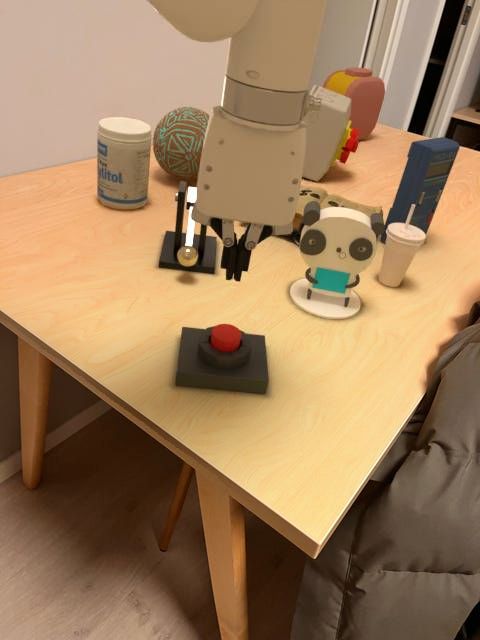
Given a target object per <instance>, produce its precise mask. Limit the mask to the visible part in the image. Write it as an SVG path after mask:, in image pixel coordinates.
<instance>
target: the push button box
mask: <svg viewBox="0 0 480 640" xmlns="http://www.w3.org/2000/svg"><path fill="white" fill-rule="evenodd" d="M215 326H216V325H214V326H209V327H206V328H198V327H191V326H190V327H189V326H182V328H181V334H180V342H179V347H178V348H179V349H178V355H177V356H178V357H177V363H176V364H177V365H176V371H175V372H176V373H175V383H174V385H175V386H176V387H177V386H178V387H180V386H181V387H189V388H199V389H210V390H220V391H229V392H241V393H250V394H251V393H252V394H261V395H266V394H267V390H268V386H269V382H270V381H269V380H270V379H269V369H268V357H267V345H266V344H267V343H266V335H265V334H255V333H246V332H244V331H243V330H241V329H239V330H240V331H241V340H240V345H239V348H238V349H237V350H236V351H233V352H221V351H219V350H217V349H215V348H213V347H212V345H211V335H212V329H213V328H214V327H215Z"/></svg>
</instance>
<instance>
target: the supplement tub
mask: <svg viewBox="0 0 480 640" xmlns="http://www.w3.org/2000/svg"><path fill="white" fill-rule="evenodd" d="M96 143H97V145H96V147H97V148H96V149H97V150H96V151H97V154H96V155H97V158H96V160H97V161H96V162H97V163H96V164H97V165H96V166H97V167H96V170H97V171H96V174H97V175H96V185H97V186H96V187H97V188H96V191H97V192H96V196H97V199H98V201H99V202H100V203H101V205H102V204H103V205H104V206H106V207H108V208H111V209H115V210H123V211H133V210H137V209H140V208H142V207H144V206H145V205H146V204H147V202H148V196H149V181H150V168H151V167H150V166H151V152H152V151H151V150H152V127H151V125H149V124H148V123H147V122H145V121H142V120H140V119H135V118H131V117H123V116H113V117H111V116H110V117H105V118H101V119H100V120H99V121H98V128H97V142H96Z"/></svg>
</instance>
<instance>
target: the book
mask: <svg viewBox="0 0 480 640" xmlns="http://www.w3.org/2000/svg"><path fill="white" fill-rule="evenodd" d="M311 201H317V202H318V203H319V204H320V206H321V210H322V209H325V208H329V207H344V208H349V209H353V210H356V211H359V212H362V213H364V214H365V215H367V216H368V217H369V218H370V217H371V215H372V214H373V213H380V214H382V216H383V217H384V209H383V206H382V205H380V206H373V205H367V204H362V203H358V202H355V201H352V200H350V199H348V198H345V197H343V196H340V195H338V194H335V193H331V194H330V193H328V191H327V190H326V189H325V188H322V187H320V186H319V187H318V186H317V187H316V186H311V185H302V184H301V187H300V193H299V199H298V204H297V209H296V213H295V216H294V219H293V232H292V233H291V234H285V235H284V236H286V237H292V240H293V241H294V242H295V244H296V245H298V246H300V239H301V233H302V230H303V227H304V225H305V224H304V223H303V213H304V208H305V206H306V204H307V203H309V202H311ZM375 235H376V236H378V235H377V234H375Z"/></svg>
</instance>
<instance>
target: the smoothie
mask: <svg viewBox="0 0 480 640" xmlns="http://www.w3.org/2000/svg"><path fill="white" fill-rule="evenodd" d="M414 208H415V205H414V204H412V206H411V209H410V212H409V214H408V217H407V220H406V223H392V224H390V225H388V228H387V230H386V233H387V238H386V243H384V247H383V248H384V249H383V252H382V253H383V254H382V259H381V263H380V269H379V274H378V281H379V282H380V283H381V284H382V285H384V286H386V287H390V288H396V287H399V286H400V284H401V283H402V281H403V279H404V277H405V275H406V274H407V271H408V269H409V268H410V267H411V264H412V262H413V260H414V258H415V257H416V255H417V253H418V252H419V249H420V247H421V245H423V244H425V242H426V238H427V234H425V233H424V232H423V231H422V230H421V229H419V228H417V227H415V226H412V225H409V222H410V219H411V217H412V214H413V211H414Z"/></svg>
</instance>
